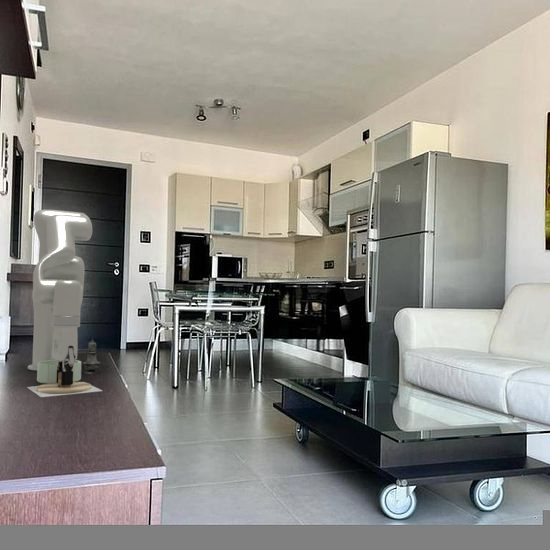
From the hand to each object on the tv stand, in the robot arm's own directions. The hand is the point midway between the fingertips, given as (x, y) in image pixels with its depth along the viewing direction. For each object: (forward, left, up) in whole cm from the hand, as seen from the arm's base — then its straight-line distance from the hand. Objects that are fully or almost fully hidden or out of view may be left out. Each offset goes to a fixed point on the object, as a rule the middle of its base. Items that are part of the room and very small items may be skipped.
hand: (64, 383), depth 154 cm
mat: (0, 0, -2) cm, 2 cm away
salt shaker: (-28, +17, -2) cm, 32 cm away
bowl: (-17, +3, -2) cm, 17 cm away
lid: (0, 0, -2) cm, 2 cm away
